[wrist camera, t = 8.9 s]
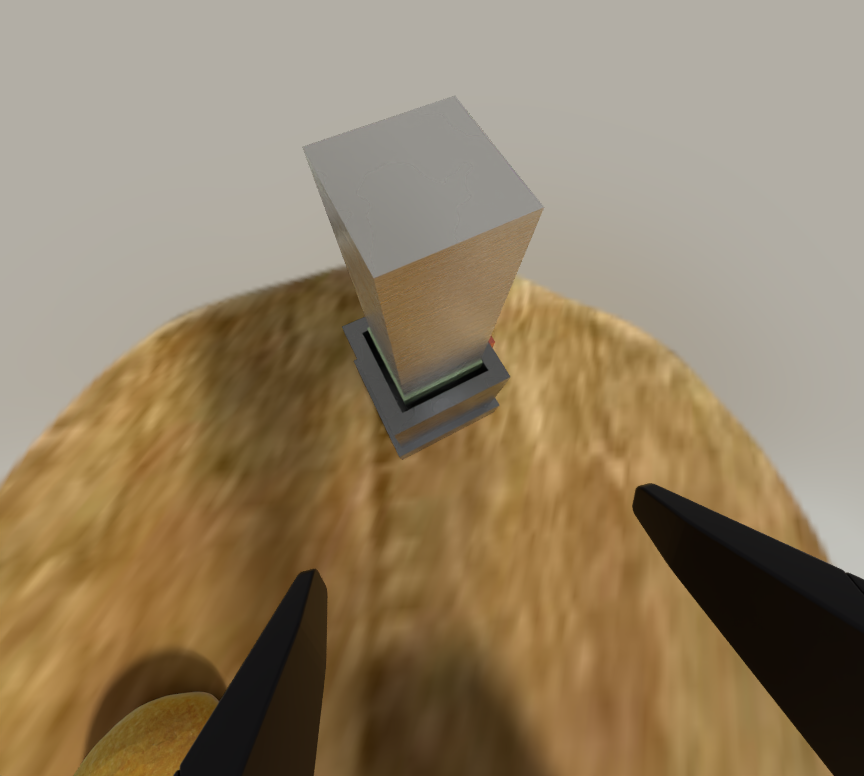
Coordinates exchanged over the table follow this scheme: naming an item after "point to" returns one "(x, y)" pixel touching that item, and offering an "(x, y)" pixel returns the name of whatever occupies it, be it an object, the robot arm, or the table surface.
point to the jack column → (426, 238)
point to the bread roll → (151, 737)
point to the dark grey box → (435, 414)
